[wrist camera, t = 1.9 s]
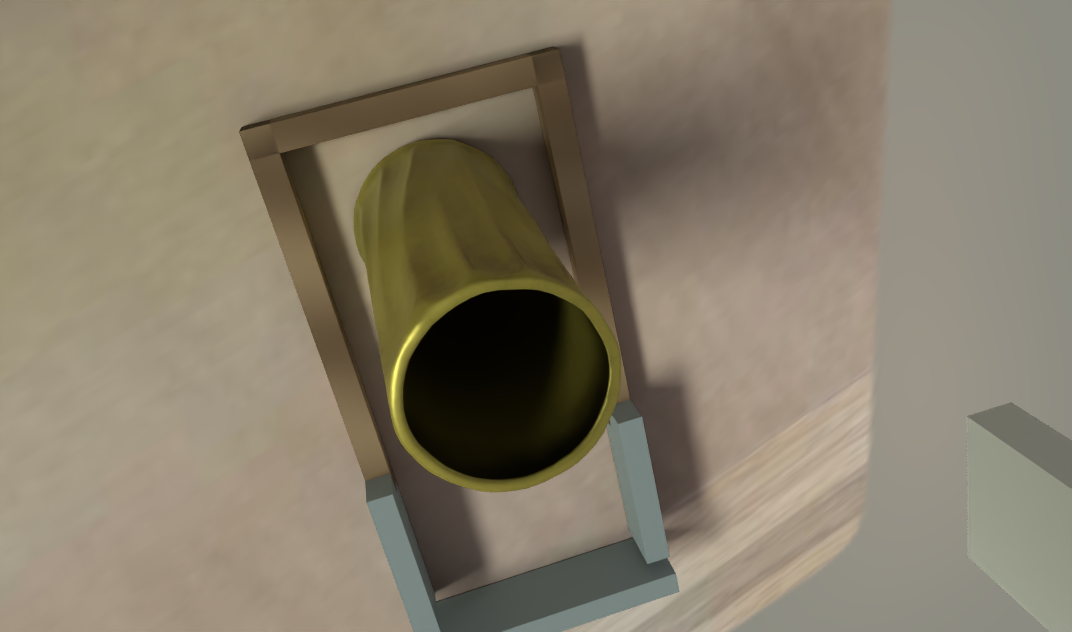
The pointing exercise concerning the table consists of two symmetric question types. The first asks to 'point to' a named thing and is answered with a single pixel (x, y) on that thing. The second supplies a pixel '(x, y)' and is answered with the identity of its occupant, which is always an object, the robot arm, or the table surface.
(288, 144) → the channel
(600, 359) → the vase
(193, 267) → the table surface
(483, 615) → the socket
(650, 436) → the table surface
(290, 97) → the table surface
